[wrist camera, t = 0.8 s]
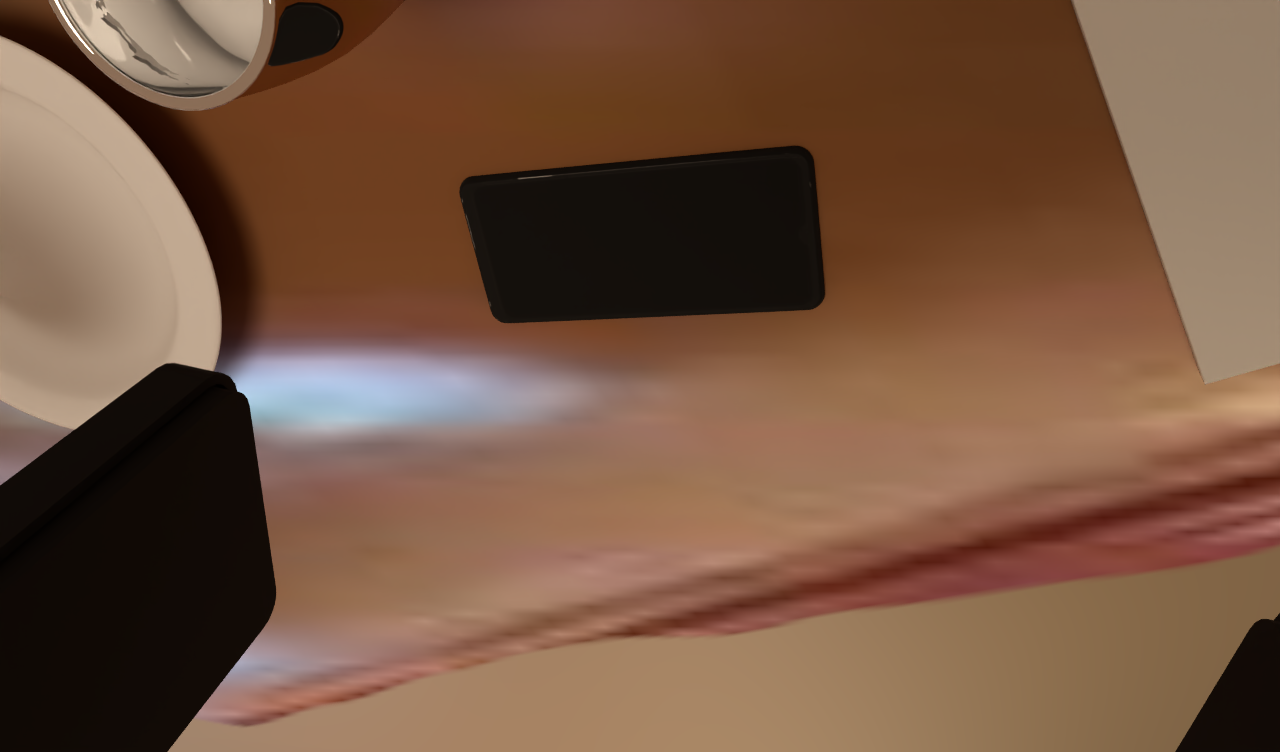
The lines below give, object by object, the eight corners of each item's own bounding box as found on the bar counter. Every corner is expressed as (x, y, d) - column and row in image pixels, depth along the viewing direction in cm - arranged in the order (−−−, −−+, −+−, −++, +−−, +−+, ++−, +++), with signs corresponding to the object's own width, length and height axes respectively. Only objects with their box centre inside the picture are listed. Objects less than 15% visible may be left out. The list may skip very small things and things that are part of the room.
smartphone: (453, 180, 40) (811, 147, 36) (460, 174, 41) (813, 140, 37) (492, 326, 44) (825, 311, 39) (499, 318, 44) (827, 302, 40)
